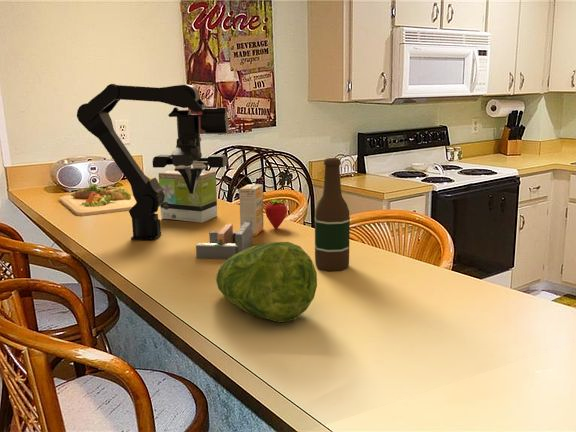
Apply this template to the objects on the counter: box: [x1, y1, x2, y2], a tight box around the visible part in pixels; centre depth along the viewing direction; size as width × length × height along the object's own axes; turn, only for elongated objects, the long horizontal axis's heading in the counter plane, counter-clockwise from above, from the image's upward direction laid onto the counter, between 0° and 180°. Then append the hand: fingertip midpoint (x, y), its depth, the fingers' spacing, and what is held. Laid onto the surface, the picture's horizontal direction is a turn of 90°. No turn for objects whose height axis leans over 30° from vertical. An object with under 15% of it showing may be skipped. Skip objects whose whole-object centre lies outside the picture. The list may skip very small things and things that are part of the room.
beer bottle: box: [314, 157, 351, 272], centre depth 119 cm, size 8×8×24 cm
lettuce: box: [215, 241, 318, 323], centre depth 98 cm, size 14×23×13 cm, turn 38°
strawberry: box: [264, 194, 288, 230], centre depth 156 cm, size 6×8×10 cm
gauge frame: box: [195, 221, 254, 260], centre depth 135 cm, size 11×14×6 cm
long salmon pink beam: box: [217, 223, 234, 244], centre depth 134 cm, size 2×12×5 cm, turn 173°
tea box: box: [158, 169, 218, 224], centre depth 170 cm, size 15×10×15 cm
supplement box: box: [238, 183, 264, 237], centre depth 151 cm, size 8×5×13 cm, turn 168°
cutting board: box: [58, 183, 137, 217], centre depth 195 cm, size 35×23×8 cm
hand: (191, 193), depth 146 cm, fingers closed
